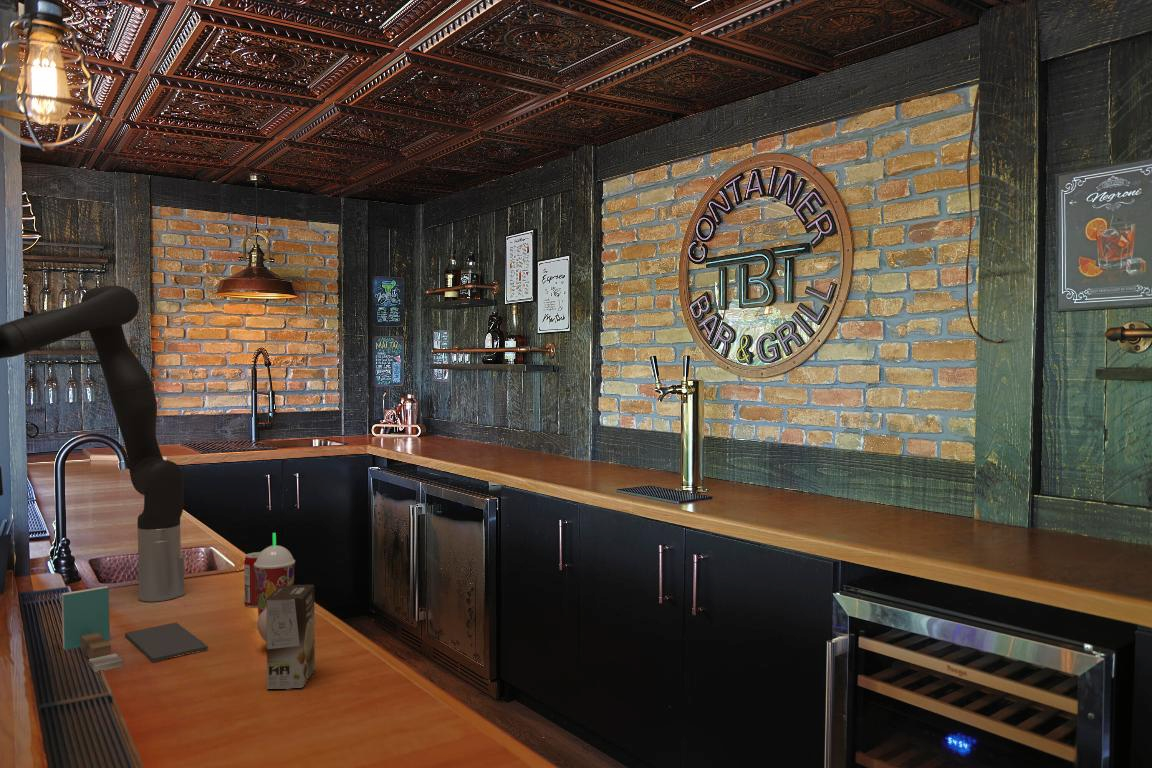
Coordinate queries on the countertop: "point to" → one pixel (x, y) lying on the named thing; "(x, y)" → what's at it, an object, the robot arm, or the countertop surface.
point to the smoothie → (272, 572)
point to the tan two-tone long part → (99, 652)
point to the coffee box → (290, 636)
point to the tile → (85, 615)
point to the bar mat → (165, 641)
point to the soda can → (250, 579)
